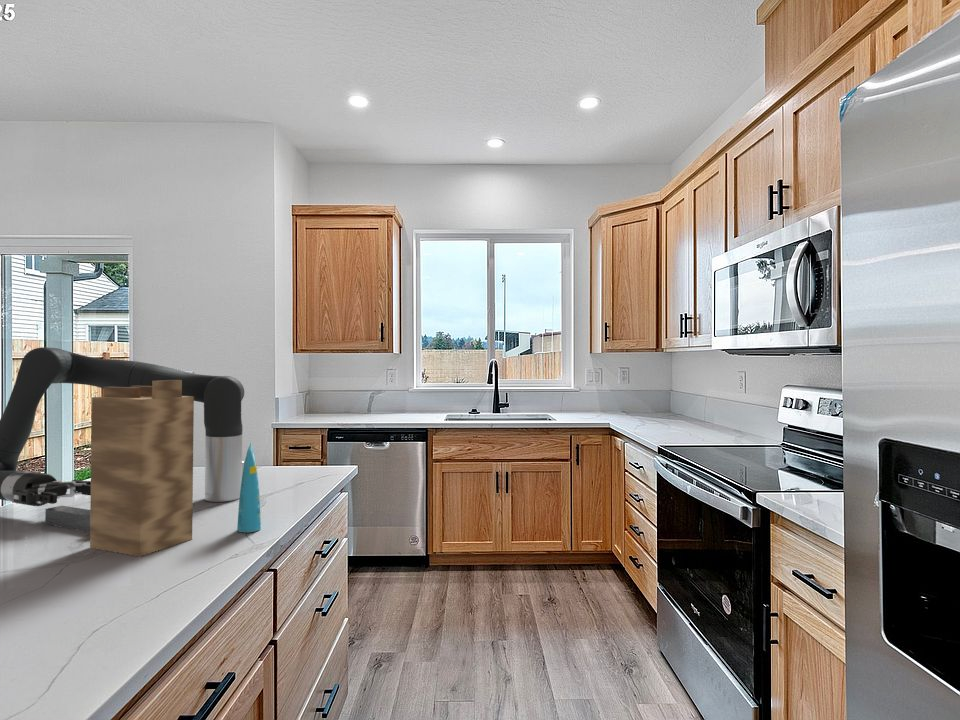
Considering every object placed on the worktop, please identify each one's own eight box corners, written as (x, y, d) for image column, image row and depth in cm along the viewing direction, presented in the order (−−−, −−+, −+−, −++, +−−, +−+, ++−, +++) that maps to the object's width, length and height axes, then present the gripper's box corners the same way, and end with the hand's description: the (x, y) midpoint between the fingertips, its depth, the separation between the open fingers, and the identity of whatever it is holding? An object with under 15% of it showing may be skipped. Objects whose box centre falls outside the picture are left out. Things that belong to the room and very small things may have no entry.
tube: (262, 533, 126) (263, 445, 126) (238, 535, 124) (239, 446, 124) (259, 524, 133) (259, 440, 133) (236, 526, 131) (237, 441, 131)
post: (144, 531, 127) (146, 378, 127) (192, 539, 122) (193, 379, 122) (89, 547, 116) (91, 379, 116) (139, 556, 110) (141, 381, 111)
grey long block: (65, 519, 136) (66, 500, 136) (128, 529, 128) (128, 509, 128) (40, 525, 131) (40, 505, 131) (104, 536, 123) (104, 515, 123)
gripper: (-6, 477, 130) (41, 484, 124) (60, 467, 143) (106, 472, 137) (-6, 511, 130) (41, 519, 124) (60, 497, 143) (105, 504, 137)
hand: (75, 494), depth 131 cm, fingers open, 8 cm apart
